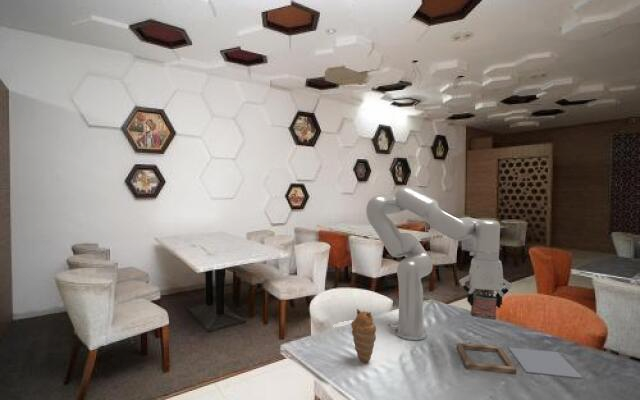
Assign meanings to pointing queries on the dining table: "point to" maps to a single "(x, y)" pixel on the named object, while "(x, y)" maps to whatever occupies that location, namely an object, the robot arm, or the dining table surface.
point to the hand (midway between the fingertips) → (484, 305)
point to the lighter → (484, 304)
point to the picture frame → (486, 367)
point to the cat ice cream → (363, 335)
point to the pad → (544, 363)
